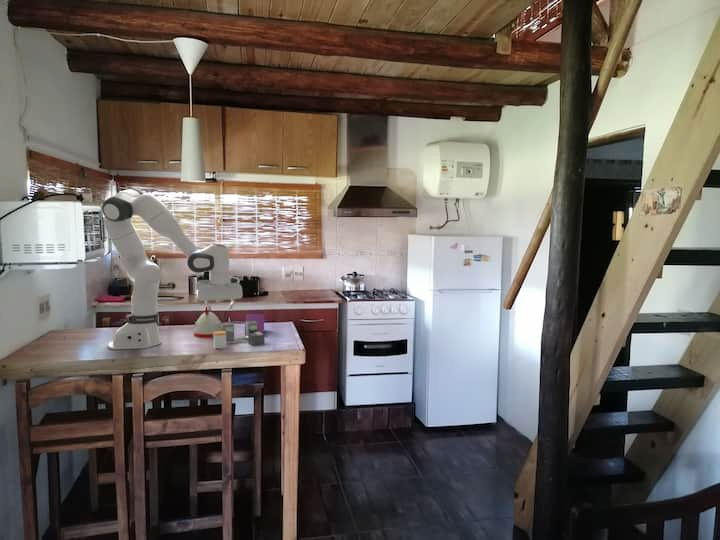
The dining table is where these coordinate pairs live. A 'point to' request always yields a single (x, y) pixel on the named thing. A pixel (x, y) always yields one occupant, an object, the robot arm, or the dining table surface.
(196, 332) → the white and red dome
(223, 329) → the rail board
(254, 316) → the mounting bracket
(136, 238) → the robot arm
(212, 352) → the dining table surface
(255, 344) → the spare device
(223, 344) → the loose module
